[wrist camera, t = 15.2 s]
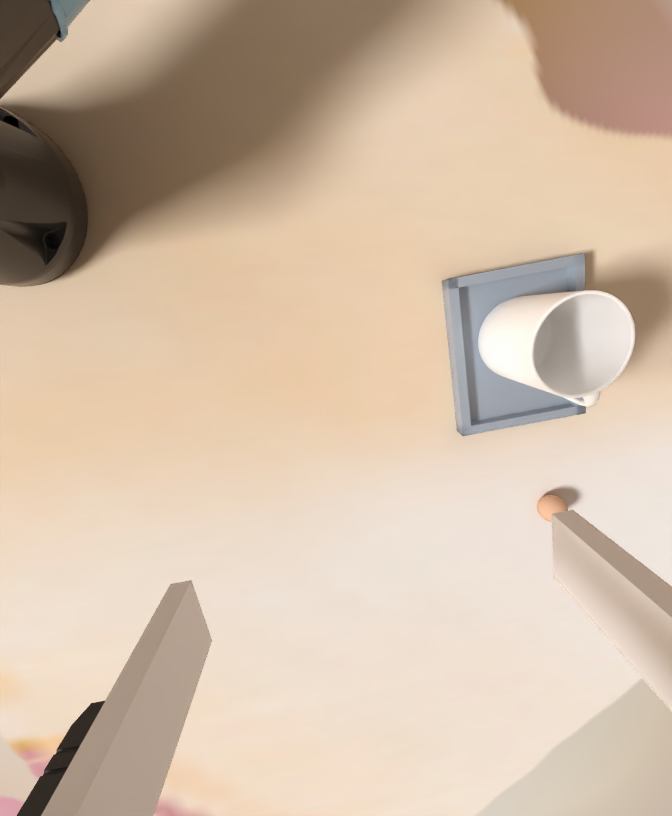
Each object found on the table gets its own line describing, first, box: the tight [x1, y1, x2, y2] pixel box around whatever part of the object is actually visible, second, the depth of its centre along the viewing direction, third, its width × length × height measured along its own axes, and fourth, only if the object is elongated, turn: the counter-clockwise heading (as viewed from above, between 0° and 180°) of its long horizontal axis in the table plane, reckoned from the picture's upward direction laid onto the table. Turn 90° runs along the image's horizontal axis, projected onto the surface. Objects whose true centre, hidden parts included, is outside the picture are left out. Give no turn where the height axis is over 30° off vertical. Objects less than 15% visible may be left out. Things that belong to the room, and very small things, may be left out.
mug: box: [478, 290, 635, 406], centre depth 34 cm, size 9×12×11 cm
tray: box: [442, 253, 586, 436], centre depth 39 cm, size 17×14×2 cm
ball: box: [537, 495, 568, 522], centre depth 44 cm, size 3×3×3 cm
